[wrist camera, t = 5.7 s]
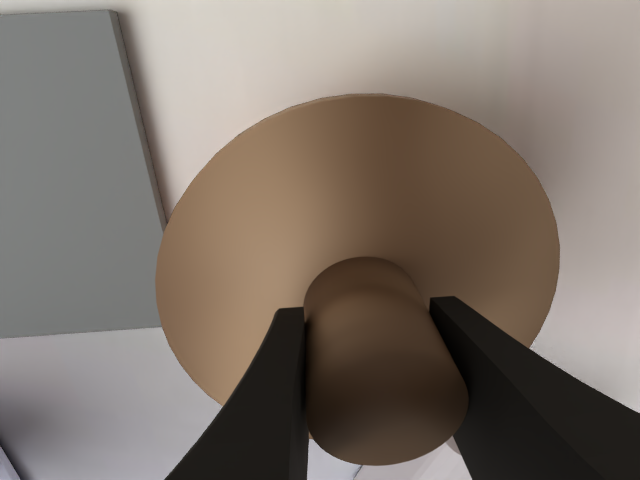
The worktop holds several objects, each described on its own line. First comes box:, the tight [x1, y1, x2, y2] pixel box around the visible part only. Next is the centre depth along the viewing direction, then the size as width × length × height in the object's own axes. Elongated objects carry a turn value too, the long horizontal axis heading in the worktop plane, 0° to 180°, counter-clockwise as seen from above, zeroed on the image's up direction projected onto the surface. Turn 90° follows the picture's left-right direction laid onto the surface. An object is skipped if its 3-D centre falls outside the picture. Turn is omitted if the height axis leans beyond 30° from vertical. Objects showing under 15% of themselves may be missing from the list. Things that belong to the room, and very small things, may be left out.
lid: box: [155, 94, 560, 466], centre depth 10 cm, size 11×11×4 cm
